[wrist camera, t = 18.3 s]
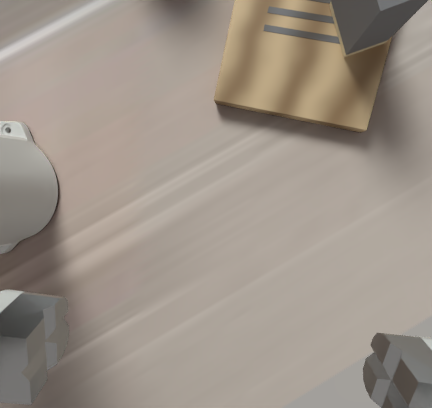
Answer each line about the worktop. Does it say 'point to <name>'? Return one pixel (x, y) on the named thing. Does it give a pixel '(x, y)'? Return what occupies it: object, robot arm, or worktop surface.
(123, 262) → the worktop surface
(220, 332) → the worktop surface
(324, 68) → the oak board
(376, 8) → the block
